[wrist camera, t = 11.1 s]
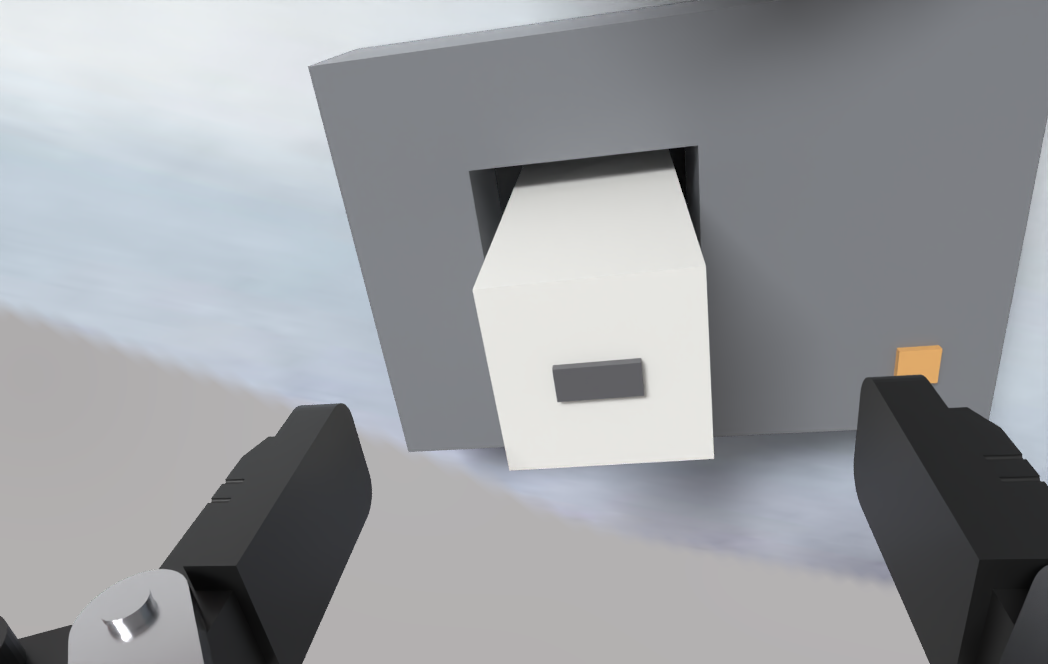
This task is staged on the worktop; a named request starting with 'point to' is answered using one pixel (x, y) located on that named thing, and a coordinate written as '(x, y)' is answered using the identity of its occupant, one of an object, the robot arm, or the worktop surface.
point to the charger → (598, 316)
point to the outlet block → (715, 188)
